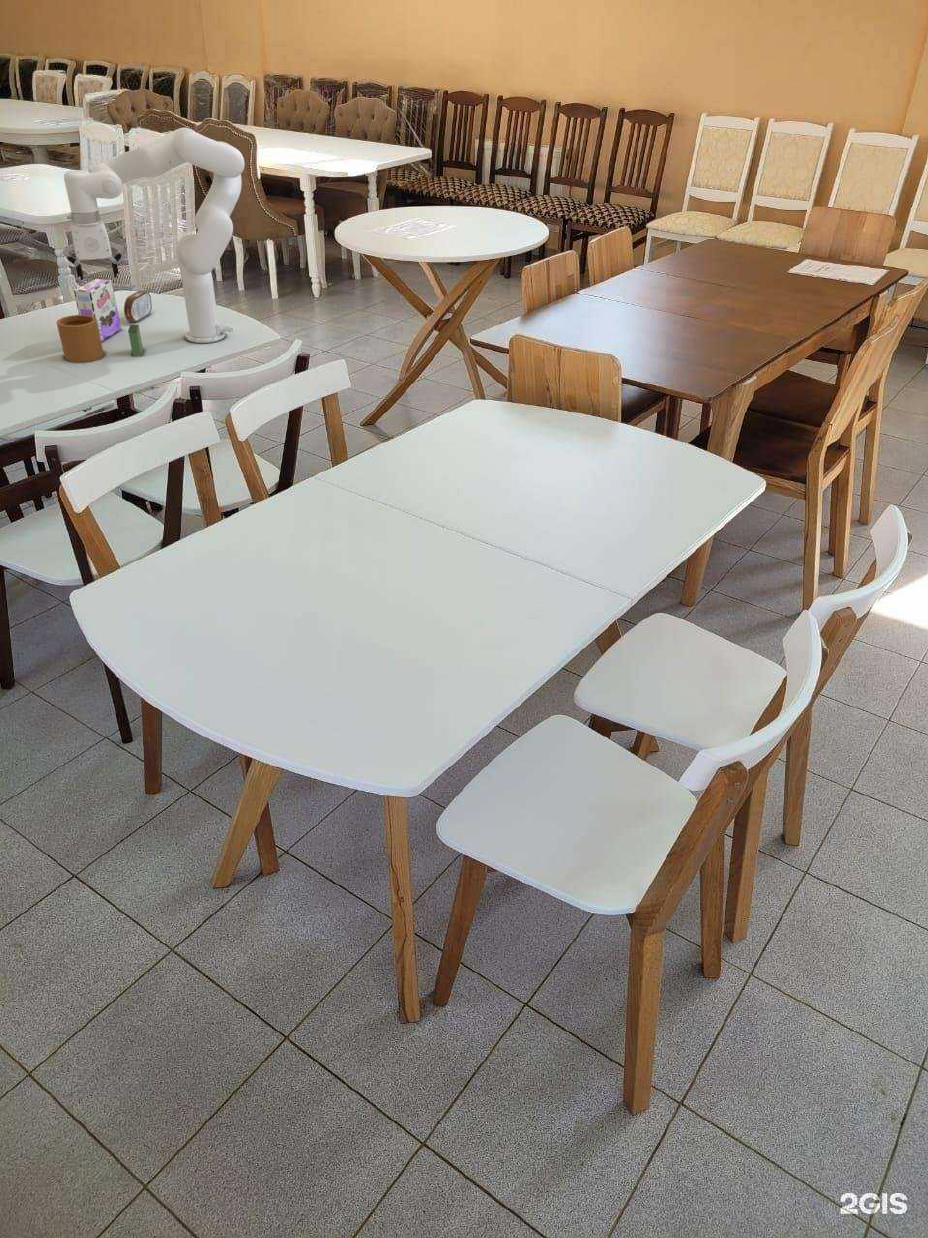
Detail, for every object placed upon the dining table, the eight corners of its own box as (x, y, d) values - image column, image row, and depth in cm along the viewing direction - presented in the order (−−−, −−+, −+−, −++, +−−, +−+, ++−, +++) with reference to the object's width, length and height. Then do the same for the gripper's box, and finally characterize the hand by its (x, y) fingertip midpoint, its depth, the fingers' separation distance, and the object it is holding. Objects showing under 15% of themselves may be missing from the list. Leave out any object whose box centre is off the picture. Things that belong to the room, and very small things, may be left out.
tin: (146, 311, 321) (142, 286, 316) (155, 312, 321) (151, 287, 316) (125, 324, 309) (120, 299, 304) (134, 325, 309) (129, 300, 304)
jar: (106, 348, 290) (98, 314, 283) (100, 361, 280) (93, 325, 274) (68, 350, 288) (60, 315, 281) (62, 362, 279) (53, 327, 272)
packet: (143, 349, 290) (138, 324, 285) (141, 355, 285) (136, 330, 281) (134, 349, 289) (130, 324, 285) (132, 355, 285) (127, 330, 280)
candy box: (100, 343, 294) (89, 290, 284) (83, 341, 295) (72, 289, 285) (122, 329, 305) (112, 279, 295) (106, 328, 306) (95, 277, 296)
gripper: (54, 221, 261) (68, 283, 271) (117, 218, 266) (129, 278, 276) (55, 216, 267) (69, 276, 277) (117, 213, 272) (128, 272, 282)
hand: (99, 277), depth 277 cm, fingers open, 9 cm apart
